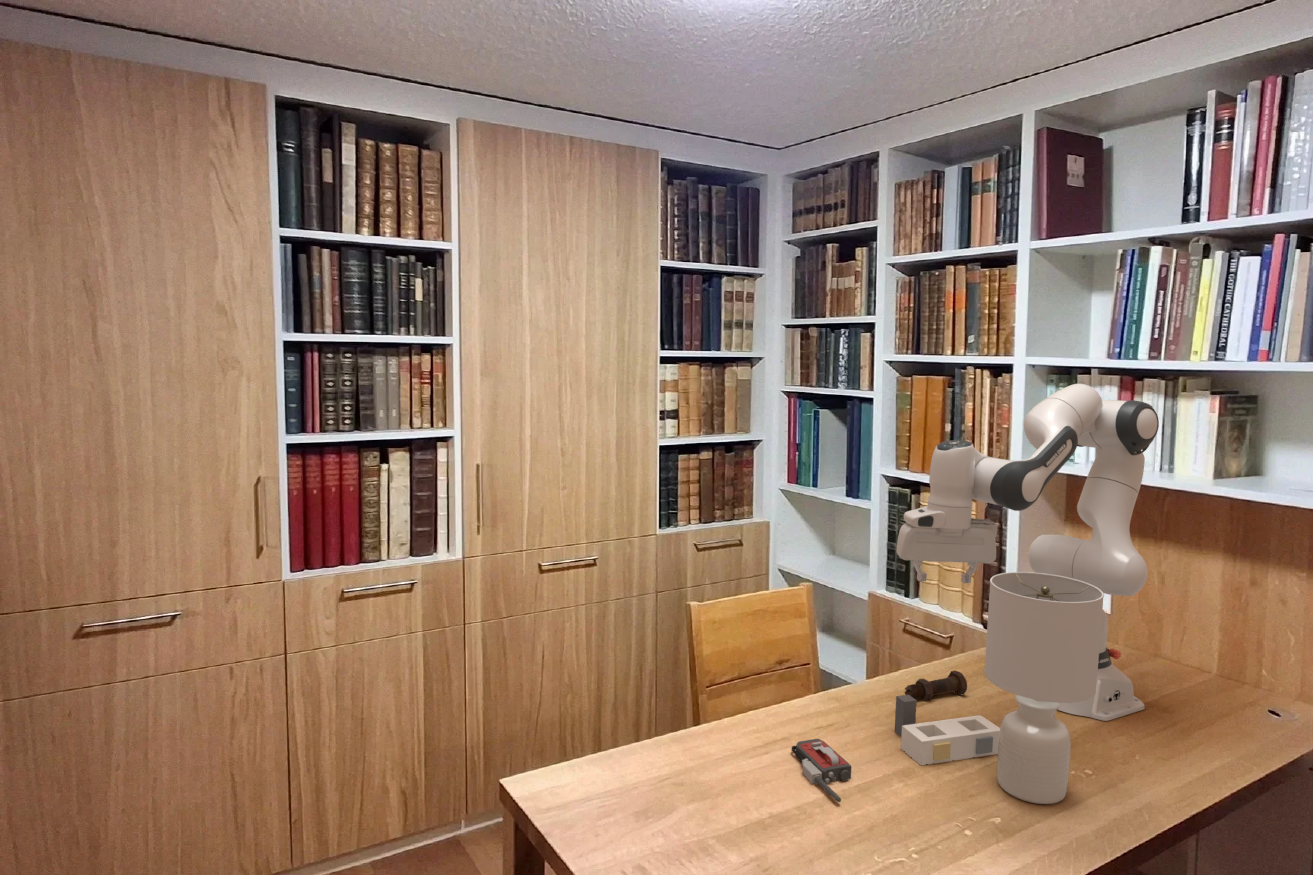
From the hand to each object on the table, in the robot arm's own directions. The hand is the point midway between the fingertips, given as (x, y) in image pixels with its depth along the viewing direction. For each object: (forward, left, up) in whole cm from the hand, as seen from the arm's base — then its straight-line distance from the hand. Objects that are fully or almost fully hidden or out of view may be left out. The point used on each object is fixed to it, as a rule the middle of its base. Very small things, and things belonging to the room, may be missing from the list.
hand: (943, 581), depth 172 cm
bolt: (-10, -15, -33) cm, 38 cm away
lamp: (-3, +25, -33) cm, 42 cm away
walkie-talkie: (+32, +11, -34) cm, 48 cm away
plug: (+7, 0, -33) cm, 34 cm away
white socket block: (+3, +9, -33) cm, 34 cm away
